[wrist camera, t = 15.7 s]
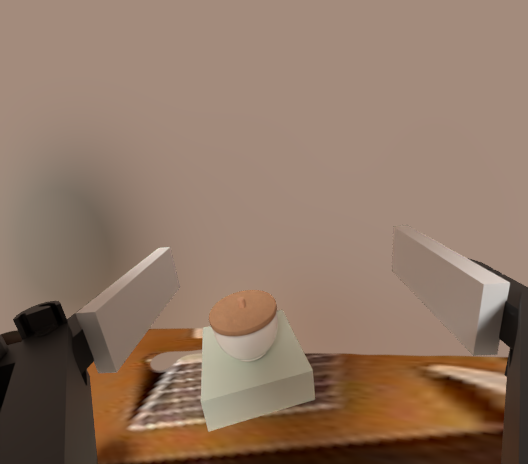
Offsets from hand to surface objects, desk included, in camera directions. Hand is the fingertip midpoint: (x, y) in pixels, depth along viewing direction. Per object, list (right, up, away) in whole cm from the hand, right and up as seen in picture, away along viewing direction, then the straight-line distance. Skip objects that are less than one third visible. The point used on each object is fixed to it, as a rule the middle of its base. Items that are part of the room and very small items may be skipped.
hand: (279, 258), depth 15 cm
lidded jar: (-3, -18, +27) cm, 33 cm away
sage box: (-3, -23, +30) cm, 38 cm away
